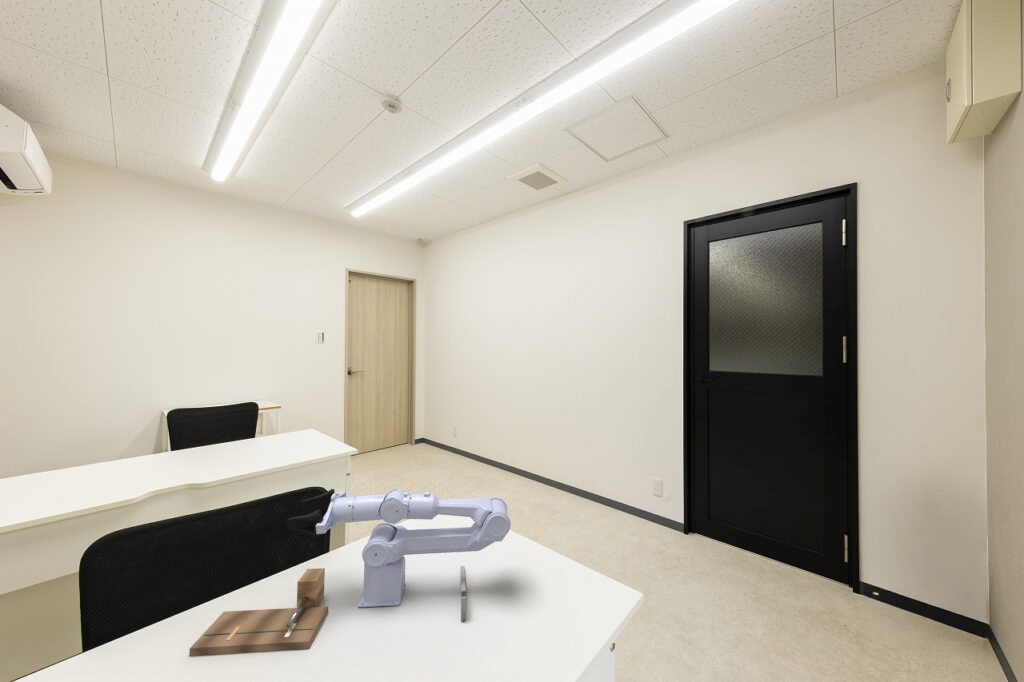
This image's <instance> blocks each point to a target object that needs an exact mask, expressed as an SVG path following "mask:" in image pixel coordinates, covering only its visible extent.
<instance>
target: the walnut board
mask: <svg viewBox="0 0 1024 682" xmlns="http://www.w3.org/2000/svg"><path fill="white" fill-rule="evenodd" d="M296 609H297V607H289V608H269V609H268V608H267V609H248V610H245V609H244V610H232V611H231V610H229V611H226V610H225V611H223V612H222V613H221V614H220V615H219V616H218V617H217V618H216V619H215V620H214V622H213V623H212V624H211V625H210V626H209V627H208V628H207V629H206V630H205V631H204V632H203V633H202V635H200V637H199V638H198V639H197V640H195V642H194V643H192V645H191V646H190V647H189V651H188V653H189V656H188V657H198V656H199V657H200V656H211V655H212V656H217V655H227V654H228V655H231V654H232V655H233V654H243V653H244V654H246V653H263V652H276V651H279V652H280V651H294V650H309V649H310V648H311V647H312V644H313V642H314V640H315V638H316V637H317V635H318V633H319V631H320V629H321V627H322V626H323V624H324V622H325V620H326V618H327V617H328V615H329V605H328V606H319V607H304V608H303V609H302V610H301V612H300V613H299V615H298V616H297V618H296V620H295V621H294V623H293V624H292V630H289V628H290V627H287V623H288V621H289V620H290V618H291V617H292V615H293V614H294V612H295V611H296Z"/></svg>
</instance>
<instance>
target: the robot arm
mask: <svg viewBox="0 0 1024 682" xmlns="http://www.w3.org/2000/svg"><path fill="white" fill-rule="evenodd" d="M301 505H302V506H301V507H302V510H303V511H313V512H309V513H307V514H304V515H298V516H293V517H290V518H287V521H286V524H287V529H289V530H294V531H299V532H304V533H306V534H309V536H312V537H313V538H318V537H319V536H320V535H322V534H326V533H327V531H328V530H330V529H332V528H333V527H334V526H336V525H337V524H349V523H359V522H372V521H382V520H383V521H384V522H381V523H379V524H377V525H375V526H374V528H373V530H372V532H371V535H370V537H369V539H368V541H367V542H366V544H365V546H364V547H363V549H362V552H361V556H362V560H363V562H364V564H363V565H364V567H363V592H362V594H361V597H360V599H359V601H358V604H357V608H369V607H389V606H392V607H393V606H400V604H401V601H402V598H403V594H404V592H405V591H404V590H405V587H406V557H405V556H409V555H410V556H411V555H427V554H443V553H444V554H447V553H465V552H466V553H468V552H480V551H482V550H484V549H485V548H487V547H489V546H490V545H492V544H494V543H497V542H502V541H503V540H504V538H506V536H507V535H508V533H509V531H510V529H511V525H512V524H511V519H510V518H509V514H508V506H507V504H506V502H505V501H504V500H503V499H502V498H500V497H492V498H491V497H489V496H481V497H477V498H449V499H448V498H447V499H442V498H441V499H440V498H439V497H438V496H437V495H436V494H434V493H431V492H430V491H424V493H410V492H409V491H404V492H403V491H401V490H398V489H397V488H394V489H391V490H389V491H388V492H387V493H384V494H382V493H381V494H370V495H355V496H347V493H346V491H345V490H343V491H337V493H336V492H335V489H334V488H331V489H329V490H328V491H326V492H324V493H322V494H318V495H317V496H313V497H309V498H307V499H304V500H302V501H301ZM321 512H326V513H325V514H324V515H323V517H322V513H321ZM438 515H442V516H453V517H464V518H465V517H467V518H470V519H472V520H473V524H472V525H471V526H470V527H469V526H468V527H466V526H465V527H464V526H463V527H443V528H441V527H440V528H422V529H408V528H406V527H404V526H403V525H395V524H397V523H399V522H401V521H402V520H433V519H434V518H436V516H438Z"/></svg>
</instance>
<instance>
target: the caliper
mask: <svg viewBox="0 0 1024 682" xmlns="http://www.w3.org/2000/svg"><path fill="white" fill-rule="evenodd" d="M465 576H466V574H465V566H464V565H460V622H463V621H464V622H465V621H466V604H467V599H466V598H467V597H466V595H467V594H466V593H467V592H466V589H467V588H466V577H465Z"/></svg>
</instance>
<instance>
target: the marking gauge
mask: <svg viewBox="0 0 1024 682" xmlns="http://www.w3.org/2000/svg"><path fill="white" fill-rule="evenodd" d="M325 573H326V571H325V567H321V568H318V567H317V568H316V567H315V568H307V569H306V570H305V571H304V572H303V574H302V575H301V577H300V578H299V579H298V580H297V582H296V583H297V587H296V588H297V589H296V591H297V593H296V608H297V609H296V611H295V612H294V614H293V615H292V617H291V618H290V620H289V621H288V623H287V627H290V628H289V630H292V624H293V623H294V621H295V620H296V618H297V616H298V615H299V613H300V612H301V610H302V609H303V608H304V607H320V605H321V604H322V602H323V599H324V598H325V577H326V576H325V575H326V574H325Z"/></svg>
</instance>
